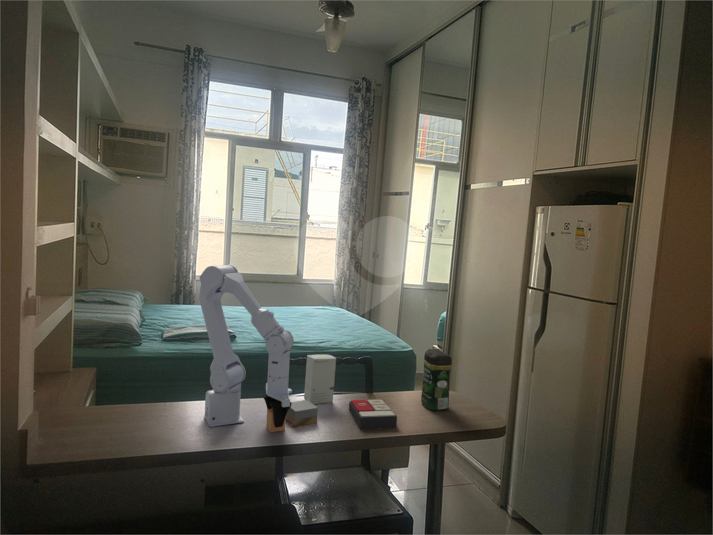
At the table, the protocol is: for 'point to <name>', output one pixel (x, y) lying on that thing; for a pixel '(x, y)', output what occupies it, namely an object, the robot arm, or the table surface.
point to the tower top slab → (302, 410)
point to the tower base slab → (301, 421)
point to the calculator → (372, 414)
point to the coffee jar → (436, 380)
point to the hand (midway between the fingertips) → (275, 423)
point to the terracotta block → (271, 422)
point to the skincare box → (320, 378)
